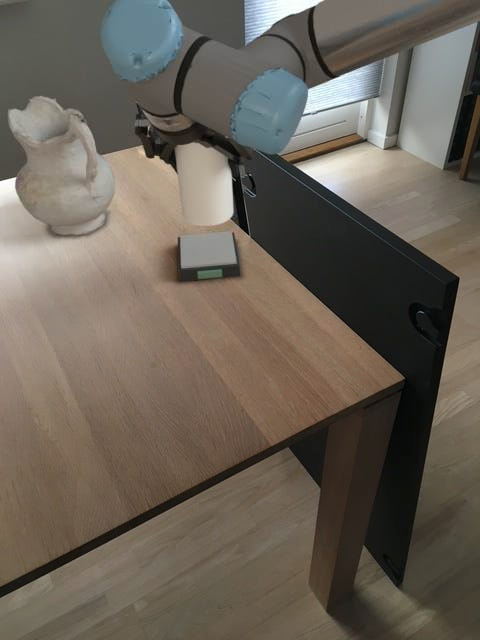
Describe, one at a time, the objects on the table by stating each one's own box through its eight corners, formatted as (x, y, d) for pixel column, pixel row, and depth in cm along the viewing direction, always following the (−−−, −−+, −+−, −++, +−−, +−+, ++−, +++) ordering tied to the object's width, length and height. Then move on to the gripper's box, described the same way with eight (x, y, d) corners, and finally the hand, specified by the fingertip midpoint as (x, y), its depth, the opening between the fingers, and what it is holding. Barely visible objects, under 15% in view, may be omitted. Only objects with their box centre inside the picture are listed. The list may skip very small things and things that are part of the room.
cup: (239, 220, 85) (234, 120, 74) (188, 230, 83) (176, 128, 73) (226, 196, 91) (220, 100, 80) (178, 204, 89) (165, 107, 79)
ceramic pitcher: (148, 216, 117) (133, 97, 102) (92, 259, 103) (64, 128, 88) (70, 198, 125) (45, 84, 109) (8, 235, 111) (-31, 111, 96)
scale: (234, 242, 106) (234, 229, 104) (240, 277, 98) (239, 264, 96) (179, 247, 106) (177, 234, 104) (180, 283, 97) (178, 269, 95)
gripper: (86, 133, 64) (142, 189, 86) (263, 135, 61) (273, 192, 84) (91, 71, 64) (145, 143, 87) (266, 71, 62) (276, 145, 84)
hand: (208, 167), depth 85 cm, fingers closed on cup, 8 cm apart
